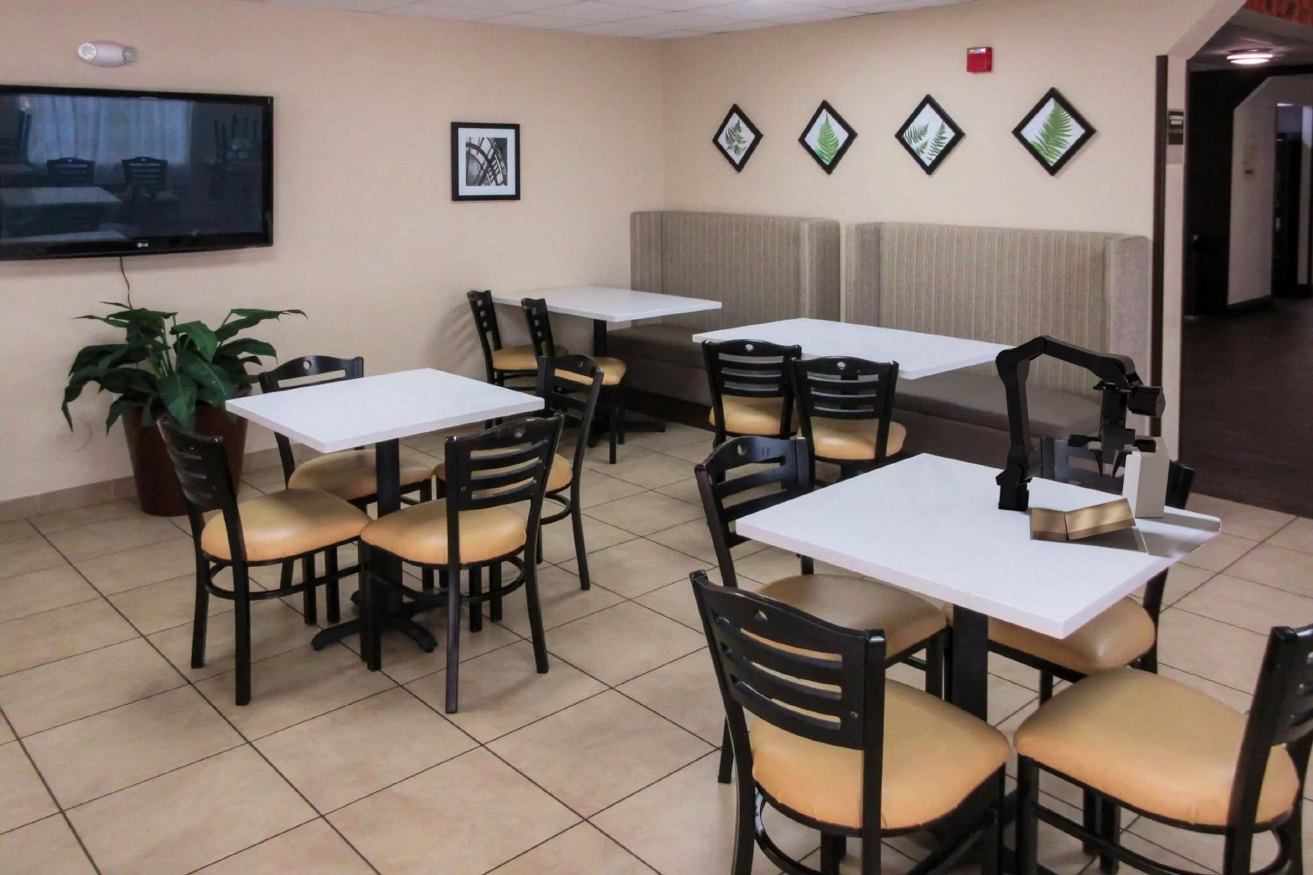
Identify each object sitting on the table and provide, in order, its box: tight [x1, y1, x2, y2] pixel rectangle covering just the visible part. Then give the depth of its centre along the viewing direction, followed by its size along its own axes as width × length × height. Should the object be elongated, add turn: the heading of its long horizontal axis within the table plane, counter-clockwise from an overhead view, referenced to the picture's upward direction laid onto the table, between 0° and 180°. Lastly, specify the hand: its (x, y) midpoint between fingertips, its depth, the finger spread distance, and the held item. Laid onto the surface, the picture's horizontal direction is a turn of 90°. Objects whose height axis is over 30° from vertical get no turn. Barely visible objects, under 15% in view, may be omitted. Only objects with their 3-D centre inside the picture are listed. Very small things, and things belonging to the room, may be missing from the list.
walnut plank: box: [1031, 508, 1066, 542], centre depth 257 cm, size 7×18×2 cm, turn 163°
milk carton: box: [1121, 436, 1171, 518], centre depth 269 cm, size 7×7×19 cm
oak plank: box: [1064, 498, 1137, 540], centre depth 253 cm, size 14×17×2 cm
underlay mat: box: [1028, 514, 1140, 551], centre depth 255 cm, size 22×20×1 cm
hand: (1106, 477), depth 257 cm, fingers open, 2 cm apart
